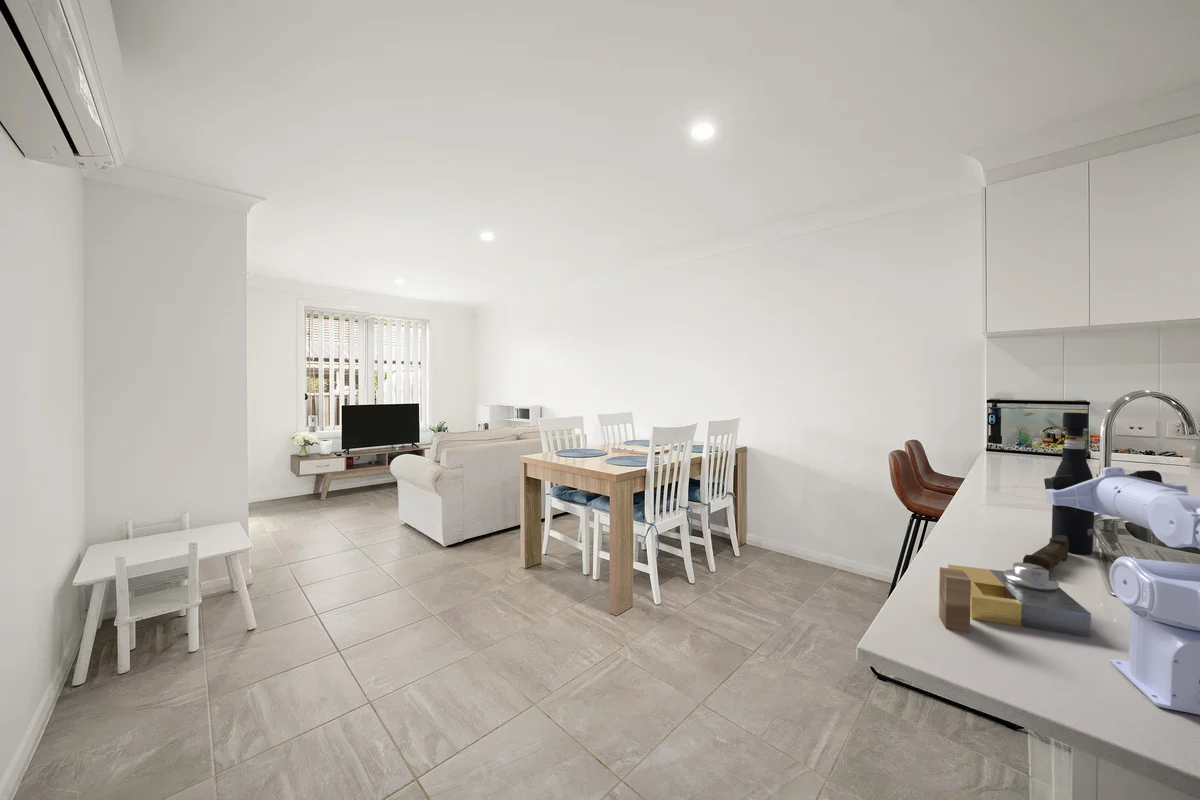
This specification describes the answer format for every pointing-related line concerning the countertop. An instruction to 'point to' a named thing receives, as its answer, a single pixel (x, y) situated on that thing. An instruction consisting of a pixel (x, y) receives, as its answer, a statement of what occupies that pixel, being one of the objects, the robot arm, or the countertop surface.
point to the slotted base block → (1024, 599)
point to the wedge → (954, 599)
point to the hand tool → (1050, 553)
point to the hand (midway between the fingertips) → (1077, 483)
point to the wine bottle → (1075, 464)
